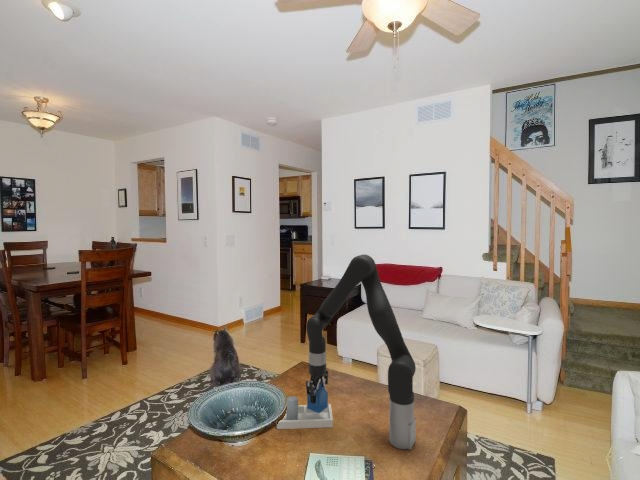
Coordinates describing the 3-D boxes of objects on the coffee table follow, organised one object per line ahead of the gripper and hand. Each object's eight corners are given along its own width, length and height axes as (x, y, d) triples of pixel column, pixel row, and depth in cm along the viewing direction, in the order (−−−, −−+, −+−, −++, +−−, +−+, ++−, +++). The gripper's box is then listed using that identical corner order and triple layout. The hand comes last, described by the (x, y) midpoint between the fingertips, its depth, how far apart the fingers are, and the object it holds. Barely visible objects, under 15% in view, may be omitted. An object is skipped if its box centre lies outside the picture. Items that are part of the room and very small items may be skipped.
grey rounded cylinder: (300, 418, 147) (300, 397, 146) (294, 424, 142) (293, 403, 142) (290, 415, 149) (290, 395, 149) (284, 421, 145) (283, 400, 144)
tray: (330, 412, 153) (330, 404, 152) (332, 429, 141) (332, 420, 140) (279, 414, 152) (279, 405, 151) (276, 431, 140) (276, 422, 139)
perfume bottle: (318, 413, 142) (318, 385, 141) (307, 408, 145) (307, 381, 145) (327, 406, 147) (327, 379, 146) (316, 402, 150) (316, 375, 150)
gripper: (315, 369, 137) (315, 409, 138) (333, 357, 149) (333, 394, 150) (300, 365, 141) (300, 404, 142) (319, 353, 153) (319, 389, 154)
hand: (317, 399), depth 146 cm, fingers closed on perfume bottle, 6 cm apart
